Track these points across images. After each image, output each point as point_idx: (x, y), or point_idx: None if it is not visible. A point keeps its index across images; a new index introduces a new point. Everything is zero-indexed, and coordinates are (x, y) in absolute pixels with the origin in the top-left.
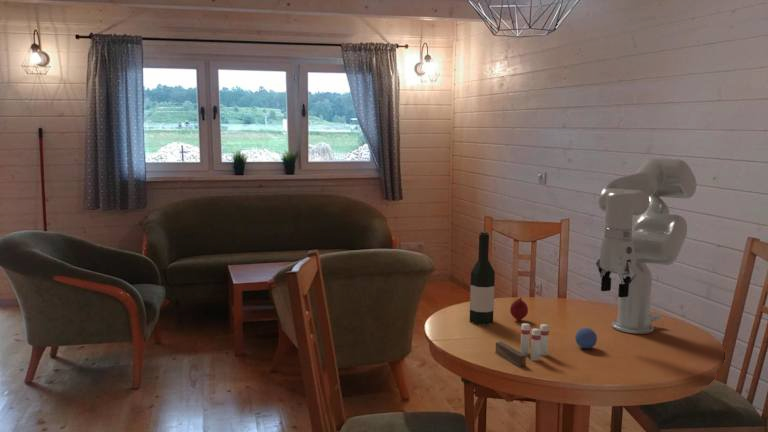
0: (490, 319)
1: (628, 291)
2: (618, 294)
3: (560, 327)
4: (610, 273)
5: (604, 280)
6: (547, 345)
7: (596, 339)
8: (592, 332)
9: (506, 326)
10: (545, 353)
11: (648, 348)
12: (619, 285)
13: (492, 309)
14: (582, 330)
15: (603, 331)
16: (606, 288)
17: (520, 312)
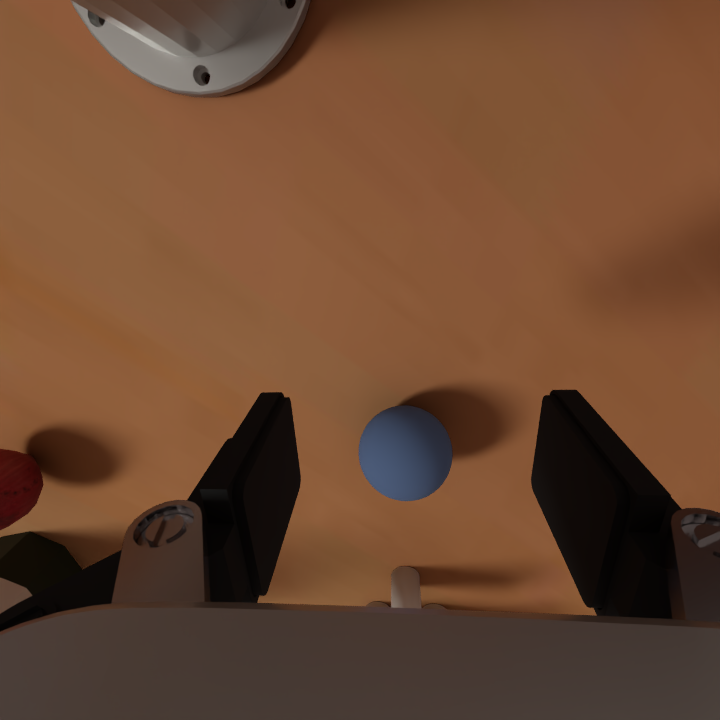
0: (60, 569)
1: (598, 416)
2: (540, 501)
3: (131, 359)
4: (204, 573)
5: (269, 569)
6: (419, 603)
7: (444, 431)
8: (438, 467)
9: (104, 528)
10: (419, 584)
11: (527, 148)
12: (600, 603)
13: (24, 598)
14: (407, 499)
15: (216, 194)
16: (291, 461)
17: (30, 503)
